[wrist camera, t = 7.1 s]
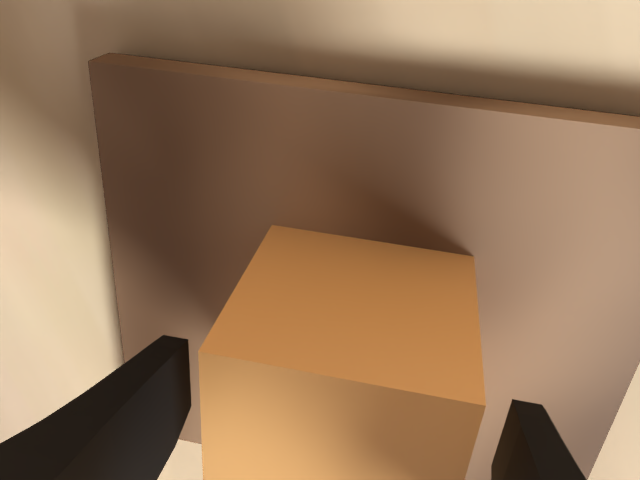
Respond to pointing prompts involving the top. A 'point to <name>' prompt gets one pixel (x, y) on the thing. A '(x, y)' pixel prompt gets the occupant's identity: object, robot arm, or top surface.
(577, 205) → the brown rectangular slab
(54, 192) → the top surface
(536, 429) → the robot arm
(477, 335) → the orange cube
